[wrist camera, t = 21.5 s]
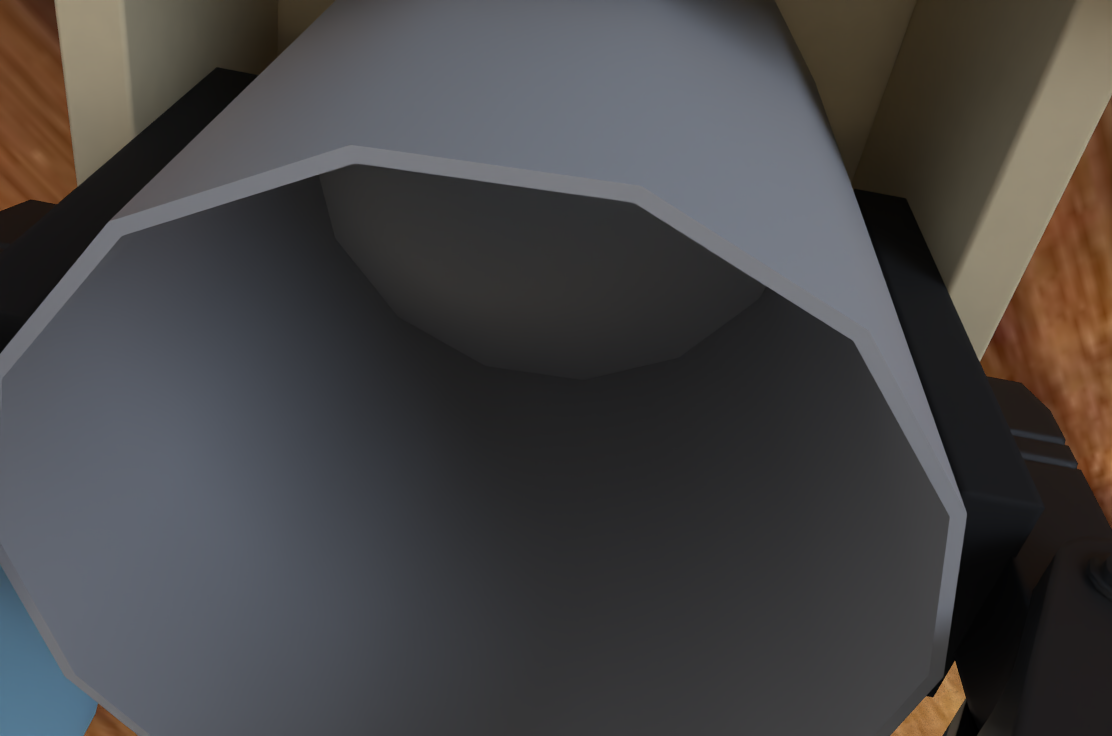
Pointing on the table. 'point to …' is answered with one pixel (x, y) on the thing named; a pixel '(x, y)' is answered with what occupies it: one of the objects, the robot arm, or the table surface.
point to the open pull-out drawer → (834, 62)
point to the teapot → (34, 679)
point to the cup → (489, 400)
